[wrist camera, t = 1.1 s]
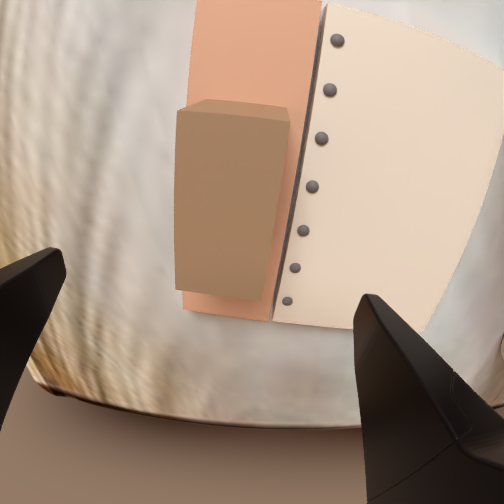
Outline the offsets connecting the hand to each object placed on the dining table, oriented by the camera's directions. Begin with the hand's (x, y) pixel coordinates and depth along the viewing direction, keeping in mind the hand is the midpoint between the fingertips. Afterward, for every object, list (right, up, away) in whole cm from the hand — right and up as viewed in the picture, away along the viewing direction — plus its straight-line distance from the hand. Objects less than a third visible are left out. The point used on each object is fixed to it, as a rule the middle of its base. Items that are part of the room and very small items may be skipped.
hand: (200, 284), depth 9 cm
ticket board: (+10, +4, +9) cm, 14 cm away
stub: (+1, +6, +9) cm, 11 cm away
